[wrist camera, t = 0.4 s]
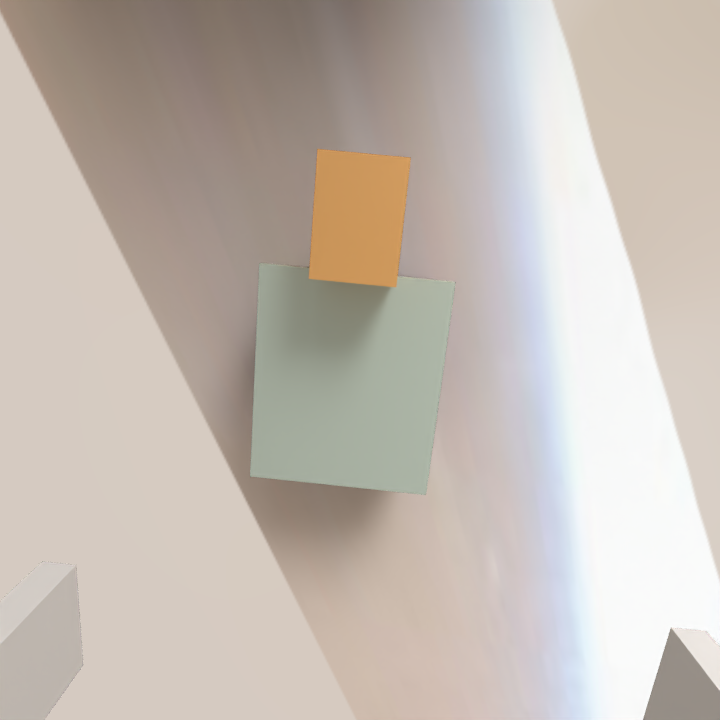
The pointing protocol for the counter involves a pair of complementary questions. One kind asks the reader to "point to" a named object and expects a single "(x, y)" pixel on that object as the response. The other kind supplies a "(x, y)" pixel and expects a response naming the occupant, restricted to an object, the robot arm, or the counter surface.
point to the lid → (350, 341)
